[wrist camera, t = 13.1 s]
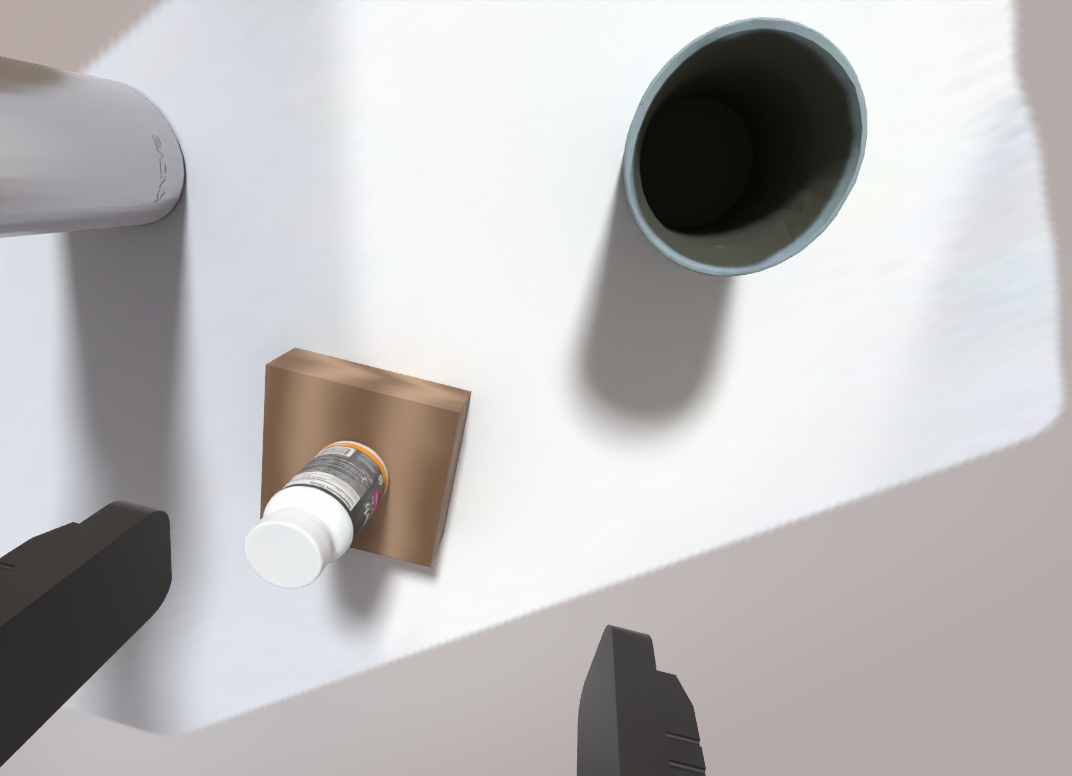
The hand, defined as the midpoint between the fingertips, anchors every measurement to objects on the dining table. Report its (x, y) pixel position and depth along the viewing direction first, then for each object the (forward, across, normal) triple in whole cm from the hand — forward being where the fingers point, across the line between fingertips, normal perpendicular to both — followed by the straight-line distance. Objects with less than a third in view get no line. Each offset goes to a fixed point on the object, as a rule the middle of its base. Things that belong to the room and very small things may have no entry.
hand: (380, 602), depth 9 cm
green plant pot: (+30, -8, -10) cm, 33 cm away
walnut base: (+30, +10, +16) cm, 36 cm away
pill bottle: (+26, +10, +16) cm, 32 cm away
